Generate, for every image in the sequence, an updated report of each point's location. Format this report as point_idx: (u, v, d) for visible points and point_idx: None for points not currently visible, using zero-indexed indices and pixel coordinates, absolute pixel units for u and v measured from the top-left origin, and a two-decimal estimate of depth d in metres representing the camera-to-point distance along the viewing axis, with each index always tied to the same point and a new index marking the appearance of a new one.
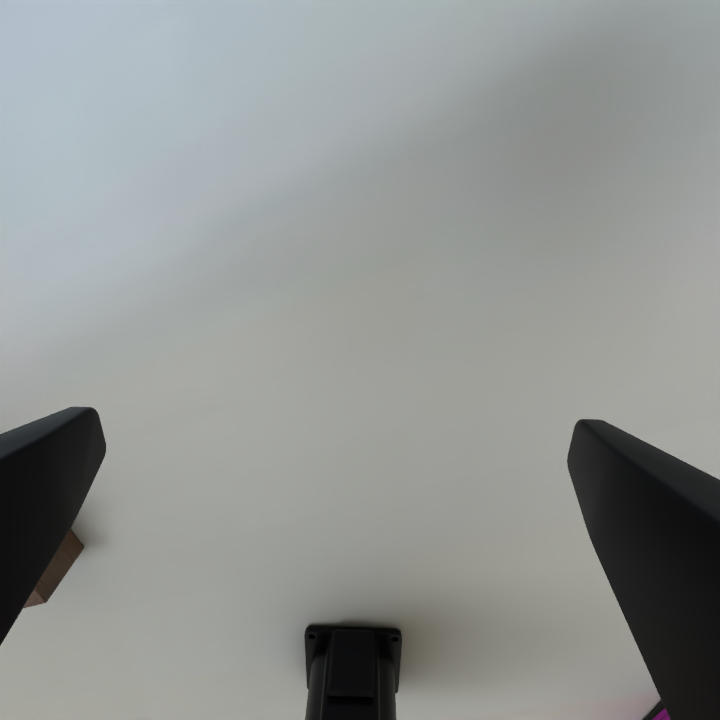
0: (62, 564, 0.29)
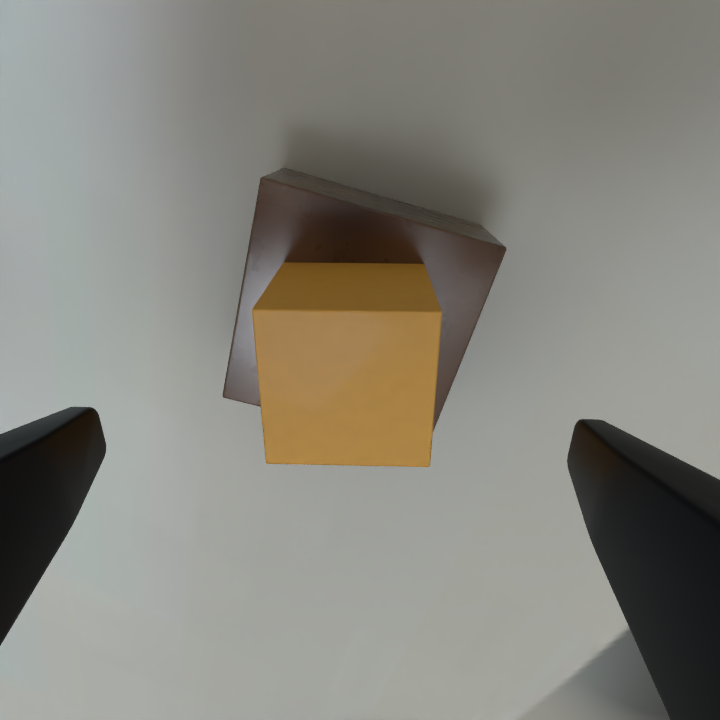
0: (477, 230, 0.18)
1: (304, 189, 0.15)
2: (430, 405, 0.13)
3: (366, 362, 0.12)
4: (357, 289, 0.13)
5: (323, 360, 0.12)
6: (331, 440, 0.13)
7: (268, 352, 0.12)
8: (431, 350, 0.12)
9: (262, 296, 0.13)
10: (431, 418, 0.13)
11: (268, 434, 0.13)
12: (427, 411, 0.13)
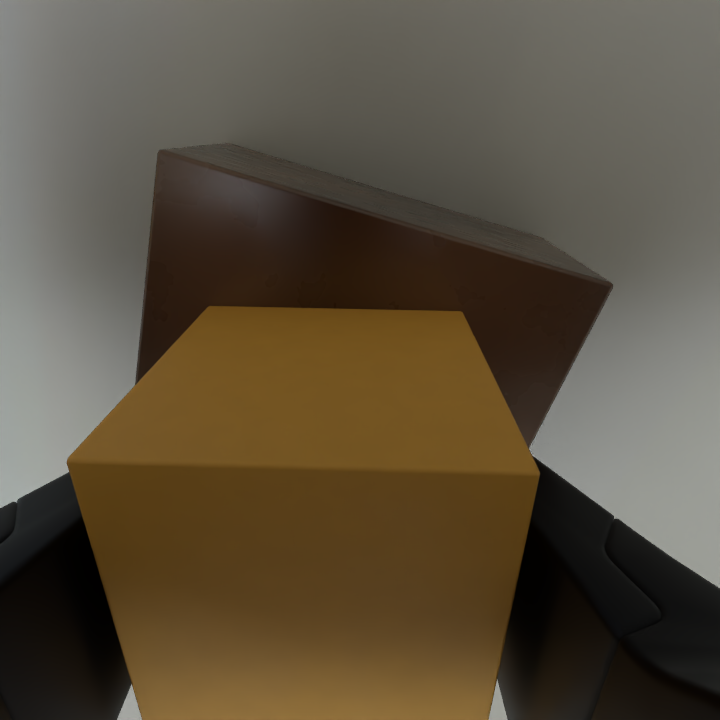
0: (545, 248, 0.10)
1: (242, 173, 0.08)
2: (492, 651, 0.06)
3: (351, 571, 0.05)
4: (333, 385, 0.06)
5: (251, 566, 0.05)
6: (277, 703, 0.06)
7: (120, 549, 0.05)
8: (506, 551, 0.05)
9: (116, 408, 0.06)
10: (494, 673, 0.06)
11: (143, 690, 0.06)
12: (486, 659, 0.06)
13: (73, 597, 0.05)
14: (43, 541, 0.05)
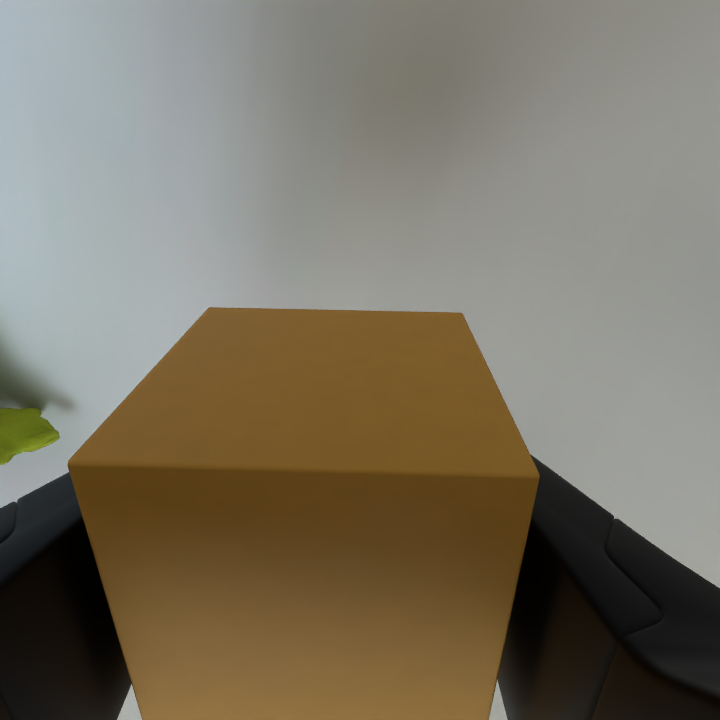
0: None
1: None
2: (493, 654, 0.06)
3: (351, 573, 0.05)
4: (333, 387, 0.06)
5: (250, 569, 0.05)
6: (277, 705, 0.06)
7: (120, 551, 0.05)
8: (506, 554, 0.05)
9: (117, 411, 0.06)
10: (493, 675, 0.06)
11: (144, 691, 0.06)
12: (486, 661, 0.06)
13: (73, 597, 0.06)
14: (43, 541, 0.05)
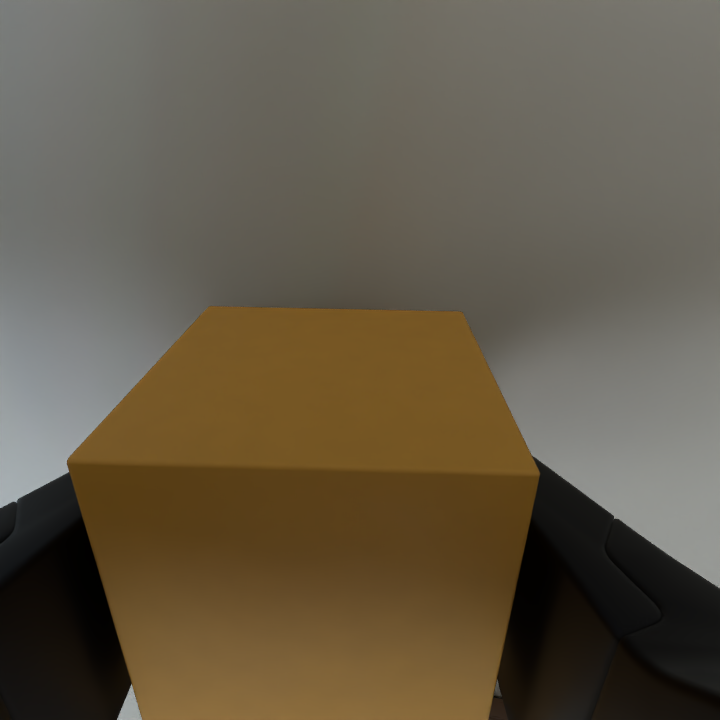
0: None
1: None
2: (492, 651, 0.06)
3: (351, 572, 0.05)
4: (333, 386, 0.06)
5: (250, 567, 0.05)
6: (277, 703, 0.06)
7: (120, 549, 0.05)
8: (506, 552, 0.05)
9: (118, 409, 0.06)
10: (494, 673, 0.06)
11: (143, 690, 0.06)
12: (486, 660, 0.06)
13: (73, 597, 0.06)
14: (43, 541, 0.05)
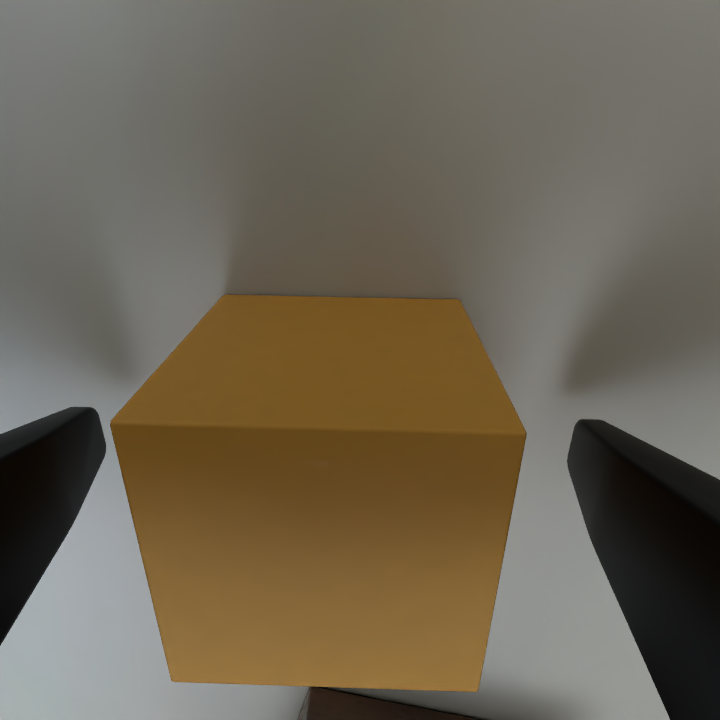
0: None
1: None
2: (486, 600, 0.06)
3: (360, 524, 0.06)
4: (342, 362, 0.07)
5: (269, 520, 0.06)
6: (292, 651, 0.07)
7: (154, 504, 0.06)
8: (497, 505, 0.06)
9: (149, 381, 0.06)
10: (488, 620, 0.07)
11: (170, 639, 0.07)
12: (480, 608, 0.07)
13: None
14: None
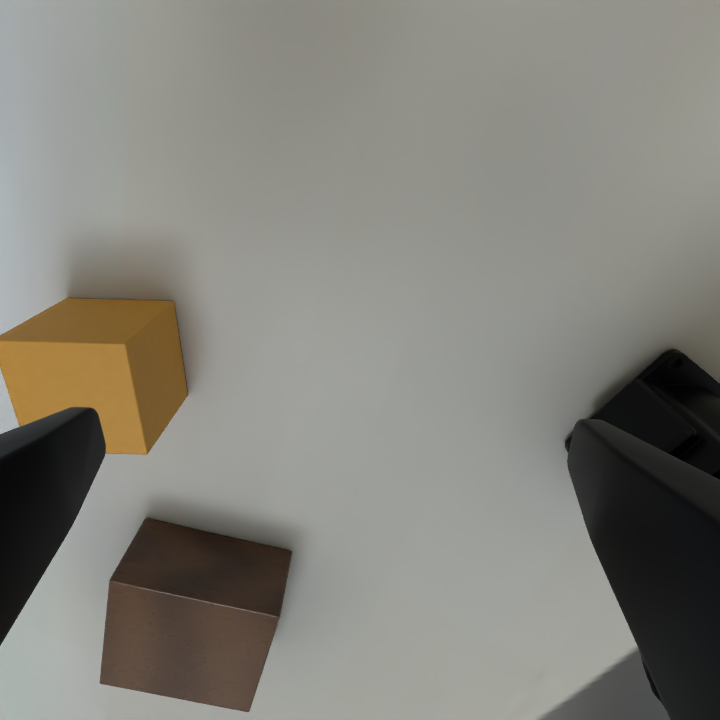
0: (275, 576, 0.25)
1: (139, 585, 0.23)
2: (134, 409, 0.18)
3: (81, 378, 0.17)
4: (88, 324, 0.18)
5: (50, 377, 0.17)
6: None
7: (9, 370, 0.17)
8: (124, 370, 0.17)
9: (11, 329, 0.18)
10: (138, 419, 0.18)
11: None
12: (134, 414, 0.18)
13: None
14: None
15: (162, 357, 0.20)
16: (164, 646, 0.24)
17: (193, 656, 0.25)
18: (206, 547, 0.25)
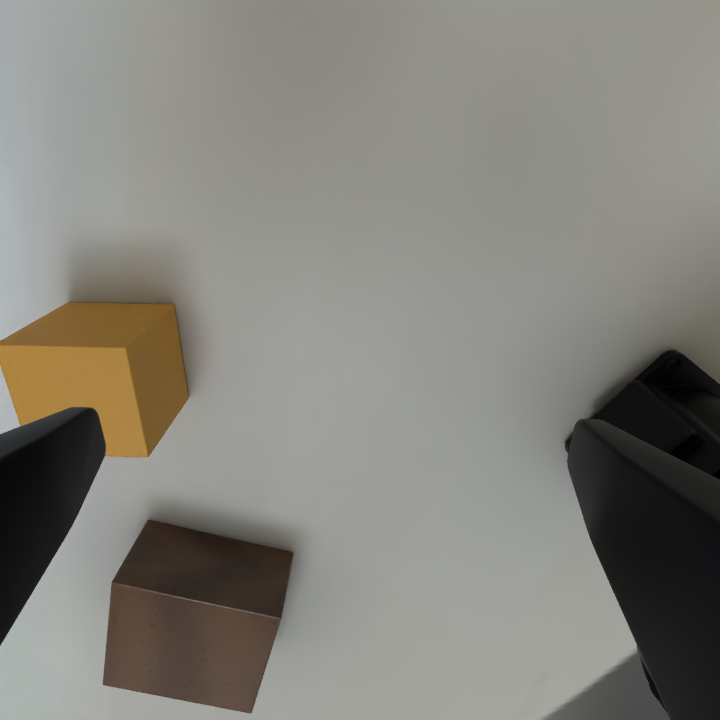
0: (277, 578, 0.25)
1: (141, 586, 0.23)
2: (135, 412, 0.18)
3: (82, 382, 0.17)
4: (89, 328, 0.18)
5: (51, 380, 0.17)
6: None
7: (12, 374, 0.17)
8: (125, 374, 0.17)
9: None
10: (139, 422, 0.18)
11: None
12: (135, 417, 0.18)
13: None
14: None
15: (163, 360, 0.20)
16: (166, 648, 0.24)
17: (195, 658, 0.25)
18: (208, 549, 0.26)
